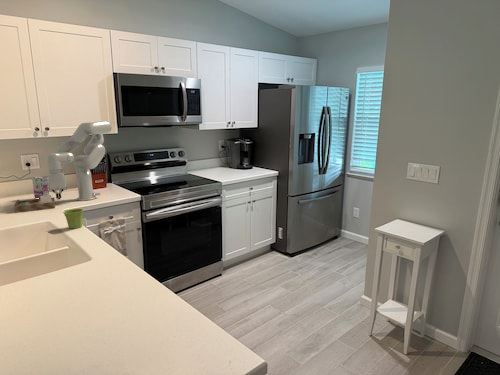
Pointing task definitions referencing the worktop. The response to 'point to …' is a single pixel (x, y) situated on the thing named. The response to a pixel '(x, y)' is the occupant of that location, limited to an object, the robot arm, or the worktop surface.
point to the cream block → (46, 199)
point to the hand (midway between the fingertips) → (58, 199)
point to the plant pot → (74, 218)
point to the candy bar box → (40, 186)
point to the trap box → (33, 205)
